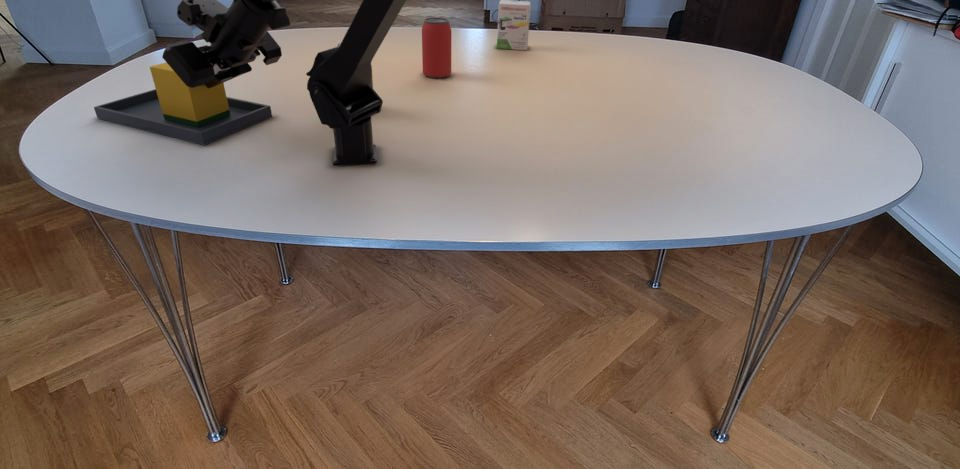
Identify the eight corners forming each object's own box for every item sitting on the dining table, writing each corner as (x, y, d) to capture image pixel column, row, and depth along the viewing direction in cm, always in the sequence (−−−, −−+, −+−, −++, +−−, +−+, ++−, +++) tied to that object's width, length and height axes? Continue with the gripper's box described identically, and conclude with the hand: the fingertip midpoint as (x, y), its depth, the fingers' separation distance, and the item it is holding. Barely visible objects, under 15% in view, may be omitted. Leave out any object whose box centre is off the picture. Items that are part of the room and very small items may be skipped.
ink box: (496, 48, 149) (498, 2, 143) (497, 44, 153) (499, -1, 147) (527, 50, 148) (530, 4, 142) (527, 46, 152) (531, 1, 146)
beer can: (436, 69, 129) (435, 15, 122) (457, 75, 125) (457, 20, 119) (416, 74, 124) (415, 19, 118) (437, 80, 121) (437, 23, 114)
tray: (272, 117, 98) (270, 105, 97) (204, 145, 86) (201, 132, 85) (172, 95, 106) (169, 84, 105) (97, 118, 94) (93, 107, 93)
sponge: (230, 115, 96) (219, 63, 92) (198, 127, 91) (184, 73, 86) (197, 107, 99) (185, 57, 94) (164, 119, 93) (149, 66, 89)
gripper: (256, -28, 87) (219, 35, 96) (152, -16, 72) (121, 57, 82) (301, 29, 88) (261, 86, 98) (209, 53, 74) (172, 117, 83)
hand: (207, 85), depth 90 cm, fingers closed, pressing on sponge
